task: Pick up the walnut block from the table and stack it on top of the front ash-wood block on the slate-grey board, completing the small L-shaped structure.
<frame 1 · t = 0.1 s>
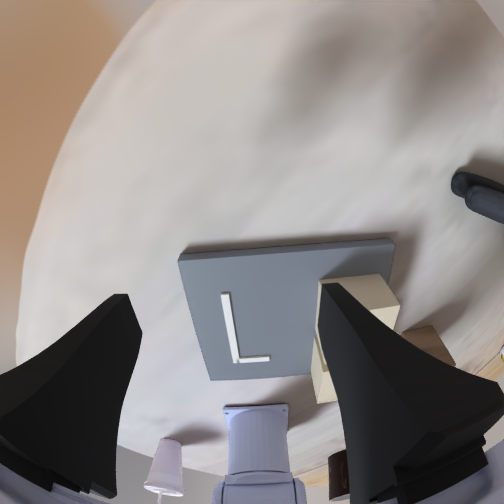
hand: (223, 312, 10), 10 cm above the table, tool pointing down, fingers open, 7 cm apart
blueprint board: (290, 318, 23), on the table
coffee mug: (345, 451, 42), on the table
walnut block: (412, 341, 26), on the table
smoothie: (170, 441, 37), on the table
can opener: (499, 201, 19), on the table
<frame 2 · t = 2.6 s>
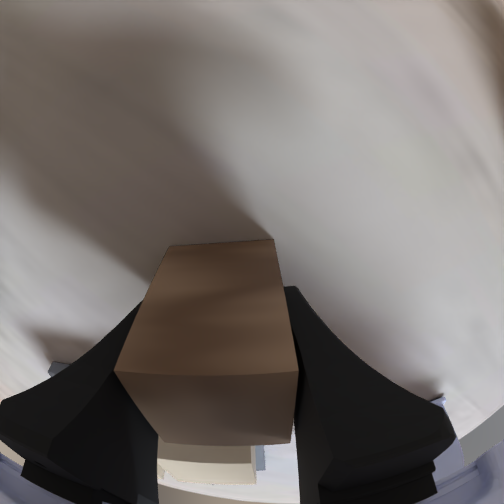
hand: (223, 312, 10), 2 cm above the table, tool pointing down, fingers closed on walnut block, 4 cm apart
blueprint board: (173, 431, 18), on the table
walnut block: (225, 286, 11), on the table, touching gripper
when the fingers open (8 cm above the table, at t = 6.0 s): walnut block stays where it is, resting on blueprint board.
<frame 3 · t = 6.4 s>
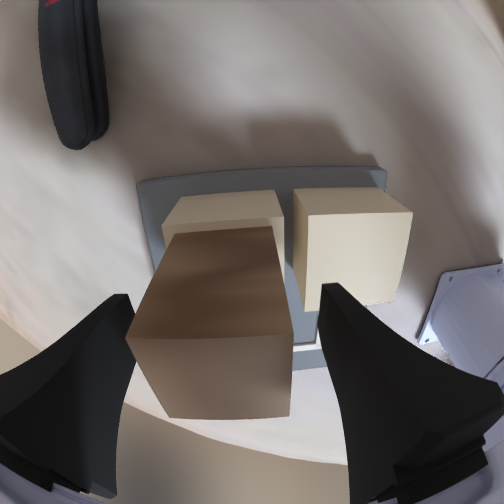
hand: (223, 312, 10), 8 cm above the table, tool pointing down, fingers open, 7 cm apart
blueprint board: (268, 288, 19), on the table
walnut block: (227, 271, 12), point 5 cm above the table, touching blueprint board
can opener: (97, 15, 10), on the table
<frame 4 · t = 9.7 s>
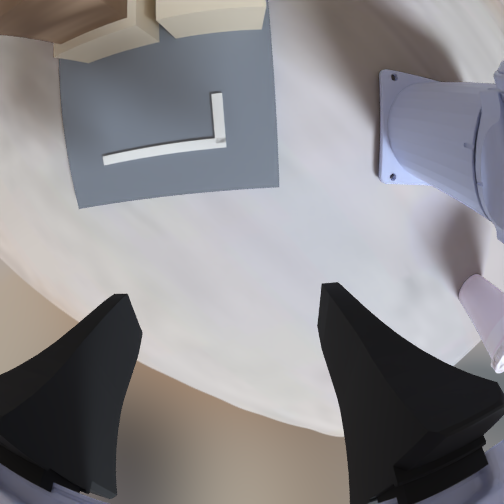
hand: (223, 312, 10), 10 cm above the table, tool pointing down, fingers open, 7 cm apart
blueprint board: (158, 74, 14), on the table
walnut block: (92, 0, 8), point 5 cm above the table, touching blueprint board
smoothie: (469, 287, 23), on the table
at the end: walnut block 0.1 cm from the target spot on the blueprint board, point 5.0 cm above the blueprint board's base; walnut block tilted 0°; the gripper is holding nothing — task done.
